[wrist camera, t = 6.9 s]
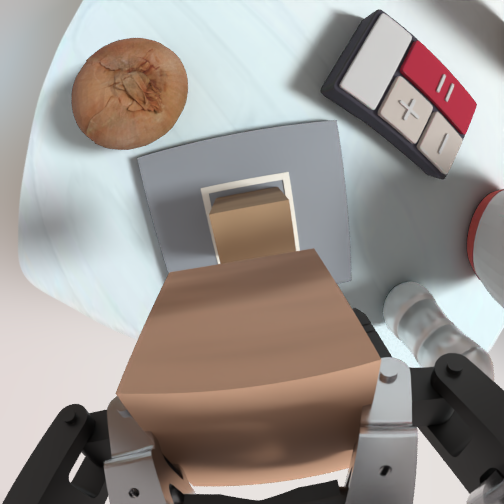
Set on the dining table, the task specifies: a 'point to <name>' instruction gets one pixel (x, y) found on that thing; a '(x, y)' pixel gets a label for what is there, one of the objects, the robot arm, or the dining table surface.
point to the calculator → (402, 93)
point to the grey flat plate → (251, 179)
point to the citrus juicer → (488, 244)
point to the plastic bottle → (429, 328)
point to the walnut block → (252, 225)
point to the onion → (129, 93)
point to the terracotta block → (252, 371)
